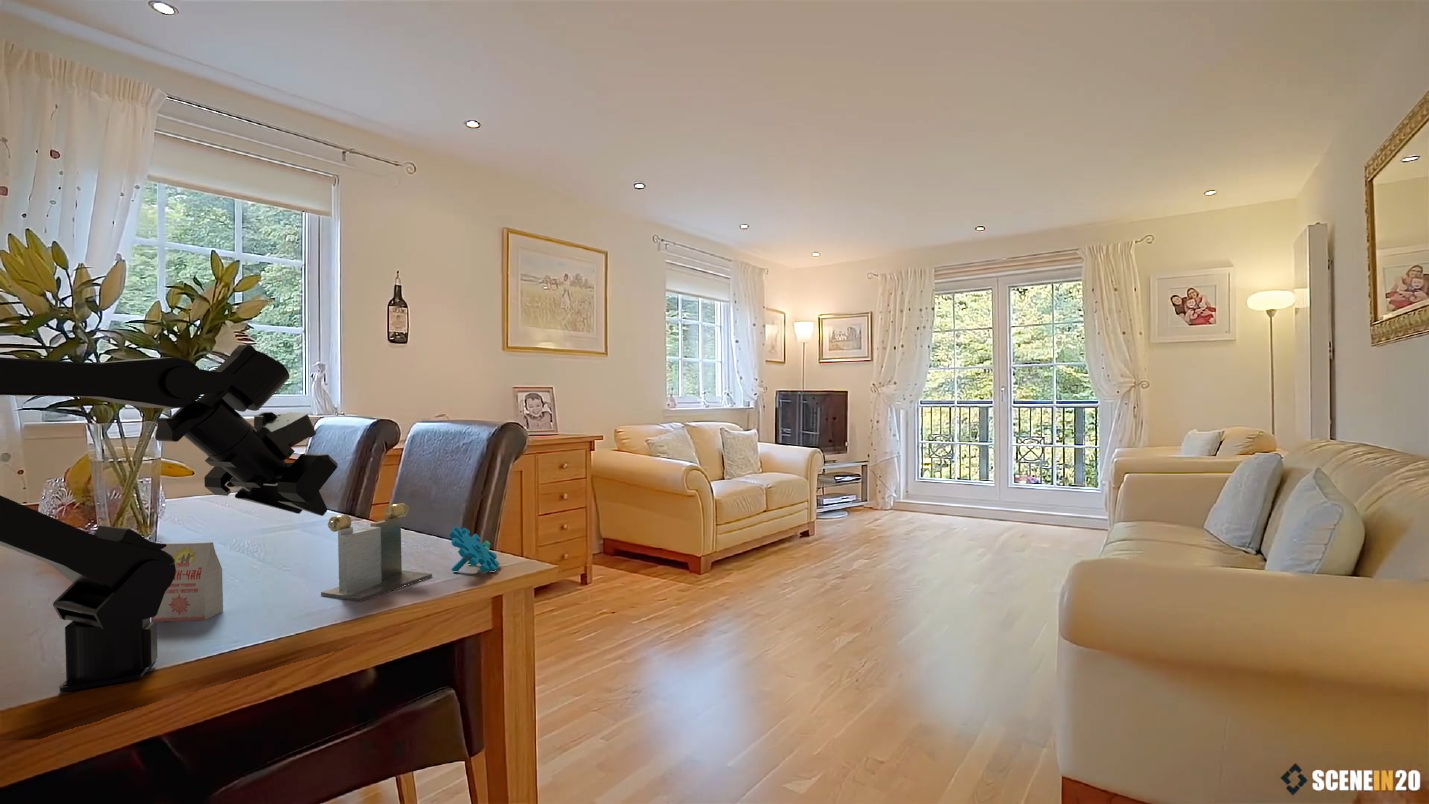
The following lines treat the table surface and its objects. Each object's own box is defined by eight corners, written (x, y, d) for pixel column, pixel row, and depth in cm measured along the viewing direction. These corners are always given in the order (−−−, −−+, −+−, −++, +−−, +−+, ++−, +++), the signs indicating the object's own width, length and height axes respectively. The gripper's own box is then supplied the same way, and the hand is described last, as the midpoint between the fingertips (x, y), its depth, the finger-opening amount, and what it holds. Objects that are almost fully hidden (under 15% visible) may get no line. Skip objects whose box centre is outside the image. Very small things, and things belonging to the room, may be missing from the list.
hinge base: (360, 601, 96) (358, 519, 96) (321, 595, 99) (319, 515, 99) (432, 576, 109) (430, 503, 108) (395, 572, 112) (394, 501, 111)
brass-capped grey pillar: (343, 595, 96) (341, 518, 96) (326, 592, 98) (324, 517, 98) (381, 583, 103) (380, 510, 102) (364, 580, 104) (363, 509, 104)
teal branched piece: (486, 571, 106) (445, 525, 107) (459, 597, 106) (419, 552, 107) (512, 562, 117) (475, 521, 118) (488, 586, 117) (451, 545, 118)
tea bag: (171, 612, 92) (169, 540, 92) (223, 610, 93) (221, 539, 93) (151, 621, 89) (149, 546, 88) (204, 620, 89) (203, 545, 89)
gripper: (322, 391, 84) (395, 469, 95) (226, 392, 91) (304, 464, 102) (261, 460, 77) (347, 535, 88) (161, 455, 84) (252, 525, 95)
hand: (312, 511), depth 93 cm, fingers open, 4 cm apart
